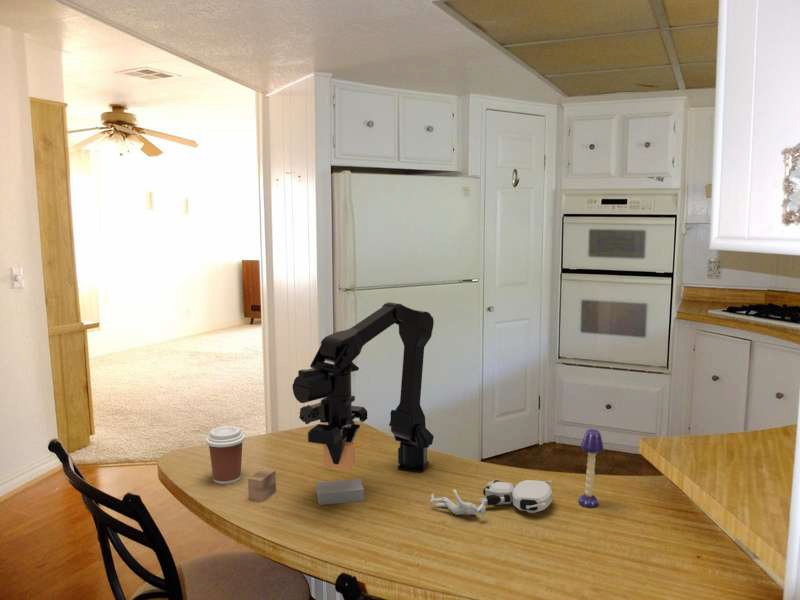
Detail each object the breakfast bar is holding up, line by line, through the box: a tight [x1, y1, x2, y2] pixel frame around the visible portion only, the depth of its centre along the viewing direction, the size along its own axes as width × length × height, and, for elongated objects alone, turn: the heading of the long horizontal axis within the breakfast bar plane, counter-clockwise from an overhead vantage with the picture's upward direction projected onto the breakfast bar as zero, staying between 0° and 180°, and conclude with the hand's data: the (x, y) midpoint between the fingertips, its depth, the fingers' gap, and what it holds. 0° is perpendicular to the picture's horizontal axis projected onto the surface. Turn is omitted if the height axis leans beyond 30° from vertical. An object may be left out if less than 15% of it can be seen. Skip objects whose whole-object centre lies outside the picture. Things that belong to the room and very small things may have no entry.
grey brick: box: [315, 478, 365, 506], centre depth 142 cm, size 10×6×3 cm, turn 102°
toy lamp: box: [578, 428, 604, 509], centre depth 137 cm, size 5×5×17 cm
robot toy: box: [478, 479, 553, 514], centre depth 138 cm, size 12×4×15 cm
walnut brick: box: [247, 468, 277, 503], centre depth 143 cm, size 6×3×5 cm, turn 160°
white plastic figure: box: [429, 488, 486, 517], centre depth 134 cm, size 8×5×12 cm
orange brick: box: [323, 442, 356, 471], centre depth 141 cm, size 6×3×5 cm, turn 70°
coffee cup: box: [205, 425, 246, 485], centre depth 152 cm, size 9×9×12 cm
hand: (339, 460), depth 141 cm, fingers closed on orange brick, 3 cm apart
